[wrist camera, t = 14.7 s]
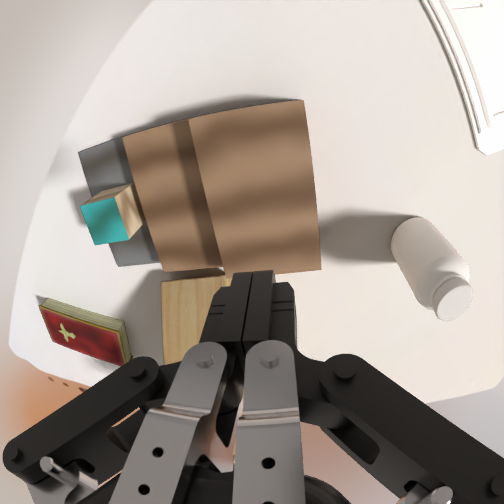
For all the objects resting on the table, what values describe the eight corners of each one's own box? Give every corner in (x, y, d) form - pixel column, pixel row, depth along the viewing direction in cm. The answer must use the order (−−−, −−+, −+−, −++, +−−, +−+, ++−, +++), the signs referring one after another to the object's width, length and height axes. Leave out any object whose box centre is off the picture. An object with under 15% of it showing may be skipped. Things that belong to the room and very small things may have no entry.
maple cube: (113, 197, 34) (134, 182, 39) (79, 206, 35) (101, 191, 40) (128, 239, 37) (146, 220, 42) (94, 245, 38) (114, 226, 43)
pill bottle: (402, 271, 43) (436, 339, 30) (380, 235, 40) (416, 301, 27) (442, 244, 40) (488, 305, 27) (423, 205, 37) (476, 260, 24)
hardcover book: (133, 356, 60) (127, 370, 57) (60, 332, 60) (52, 343, 57) (126, 318, 54) (117, 333, 51) (47, 294, 54) (37, 306, 51)
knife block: (222, 395, 63) (199, 518, 37) (165, 270, 47) (76, 445, 20) (270, 394, 61) (260, 524, 35) (232, 262, 45) (178, 469, 18)
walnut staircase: (80, 151, 38) (54, 163, 32) (299, 99, 32) (303, 100, 27) (119, 265, 47) (102, 287, 42) (316, 244, 42) (321, 269, 36)
